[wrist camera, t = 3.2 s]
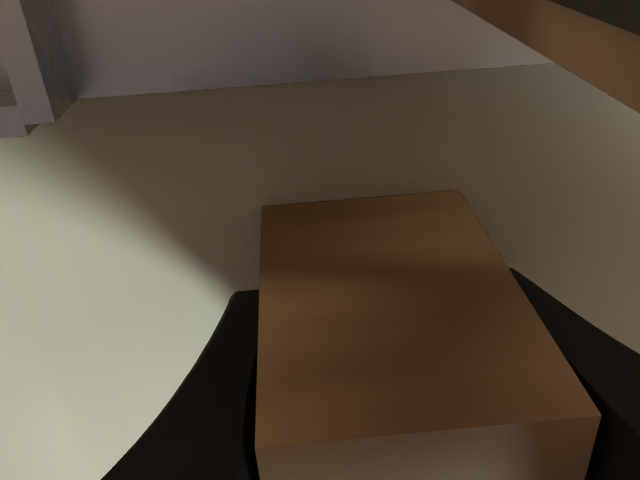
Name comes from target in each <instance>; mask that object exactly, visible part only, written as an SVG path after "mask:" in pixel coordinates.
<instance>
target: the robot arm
mask: <svg viewBox="0 0 640 480" xmlns="http://www.w3.org/2000/svg"><path fill="white" fill-rule="evenodd" d="M509 270H510V271H511V273H512V275H513V276H514V278H515V279H516V281H517V282H518V284H519V286H520V287H521V289H522V290H523V292H524V294H525V295H526V297H527V298H528V300H529V301H530V303H531V305H532V306H533V308H534V309H535V311H536V313H537V314H538V316H539V317H540V319H541V320H542V322H543V324H544V325H545V327H546V328H547V330H548V331H549V333H550V335H551V336H552V338H553V339H554V341H555V343H556V344H557V346H558V347H559V349H560V350H561V352H562V354H563V355H564V357H565V358H566V360H567V362H568V363H569V365H570V366H571V368H572V369H573V371H574V373H575V374H576V376H577V377H578V379H579V381H580V382H581V384H582V385H583V387H584V388H585V390H586V392H587V393H588V395H589V396H590V398H591V399H592V401H593V403H594V404H595V406H596V407H597V409H598V411H599V412H600V414H601V419H600V423H599V427H598V431H597V434H596V438H595V442H594V446H593V450H592V453H591V457H590V461H589V465H588V469H587V473H586V476H585V480H640V354H638V353H636V352H635V351H633V350H631V349H630V348H628V347H627V346H625V345H623V344H622V343H620V342H618V341H617V340H615V339H614V338H612V337H610V336H609V335H607V334H606V333H604V332H603V331H601V330H600V329H598V328H597V327H595V326H594V325H592V324H591V323H589V322H588V321H586V320H585V319H583V318H582V317H580V316H579V315H578V314H576V313H575V312H573V311H572V310H570V309H569V308H568V307H566V306H565V305H563V304H562V303H561V302H559V301H558V300H556V299H555V298H554V297H552V296H551V295H549V294H548V293H547V292H545V291H544V290H542V289H541V288H540V287H538V286H537V285H536V284H534V283H533V282H531V281H530V280H529V279H527V278H526V277H524V276H523V275H521V274H520V273H519V272H517V271H516V270H514V269H512V268H509ZM258 321H259V290H249V291H238V292H235V293H234V294H233V295H232V296H231V298H230V300H229V303H228V305H227V307H226V309H225V311H224V313H223V316H222V318H221V319H220V321H219V323H218V325H217V327H216V329H215V331H214V333H213V334H212V336H211V338H210V340H209V341H208V343H207V345H206V346H205V348H204V350H203V351H202V353H201V355H200V356H199V358H198V360H197V361H196V363H195V365H194V366H193V368H192V369H191V371H190V372H189V374H188V375H187V376H186V378H185V379H184V381H183V382H182V384H181V385H180V387H179V388H178V389H177V391H176V392H175V394H174V395H173V397H172V398H171V399H170V401H169V402H168V403H167V405H166V406H165V407H164V409H163V410H162V411H161V413H160V414H159V415H158V416H157V418H156V419H155V420H154V421H153V423H152V424H151V425H150V426H149V427H148V429H147V430H146V431H145V432H144V433H143V435H142V436H141V437H140V438H139V439H138V440H137V442H136V443H135V444H134V445H133V446H132V447H131V448H130V449H129V450H128V451H127V453H126V454H125V455H124V456H123V457H122V458H121V459H120V460H119V461H118V462H117V463H116V464H115V465H114V467H113V468H112V469H111V470H110V471H109V472H108V473H107V474H106V475H105V476H104V477H103V478H102V479H101V480H260V477H259V471H258V465H257V459H256V453H255V423H256V389H257V355H258Z"/></svg>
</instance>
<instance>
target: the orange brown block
mask: <svg viewBox="0 0 640 480" xmlns="http://www.w3.org/2000/svg"><path fill="white" fill-rule="evenodd" d="M451 1H453V2H454V3H456V4H458V5H459V6H461V7H463V8H465V9H466V10H468V11H470V12H471V13H473V14H475V15H476V16H478V17H480V18H481V19H483V20H485V21H486V22H488V23H490V24H491V25H493V26H495V27H496V28H498V29H500V30H501V31H503V32H505V33H506V34H508V35H510V36H511V37H513V38H515V39H516V40H518V41H520V42H521V43H523V44H525V45H526V46H528V47H530V48H531V49H533V50H535V51H536V52H538V53H540V54H542V55H543V56H545V57H547V58H548V59H550V60H552V61H553V62H555V63H557V64H558V65H560V66H562V67H563V68H565V69H567V70H568V71H570V72H572V73H573V74H575V75H577V76H578V77H580V78H582V79H583V80H585V81H587V82H588V83H590V84H592V85H593V86H595V87H597V88H598V89H600V90H602V91H603V92H605V93H607V94H608V95H610V96H612V97H614V98H615V99H617V100H619V101H620V102H622V103H624V104H625V105H627V106H629V107H630V108H632V109H634V110H635V111H637V112H639V113H640V0H451Z"/></svg>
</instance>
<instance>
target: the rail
mask: <svg viewBox="0 0 640 480" xmlns="http://www.w3.org/2000/svg"><path fill="white" fill-rule="evenodd" d="M548 63H555V62H553V61H552V60H550V59H548V58H547V57H545V56H543V55H542V54H540V53H538V52H536V51H535V50H533V49H531V48H530V47H528V46H526V45H525V44H523V43H521V42H520V41H518V40H516V39H515V38H513V37H511V36H510V35H508V34H506V33H505V32H503V31H501V30H500V29H498V28H496V27H495V26H493V25H491V24H490V23H488V22H486V21H485V20H483V19H481V18H480V17H478V16H476V15H475V14H473V13H471V12H470V11H468V10H466V9H465V8H463V7H461V6H459V5H458V4H456V3H454V2H453V1H451V0H0V138H5V137H18V136H28V135H29V134H30V133H31V132H32V131H33V130H34V129H35V128H36V127H37V126H38V125H39V124H40V123H53V122H56V121H57V120H58V119H59V118H60V117H61V116H62V115H63V114H64V113H65V111H66V110H67V109H68V108H69V107H70V106H71V105H72V104H73V103H74V102H75V101H76V100H77V99H86V98H100V97H113V96H126V95H139V94H152V93H165V92H179V91H192V90H205V89H218V88H231V87H245V86H258V85H271V84H284V83H297V82H311V81H324V80H337V79H350V78H363V77H376V76H390V75H403V74H416V73H429V72H442V71H456V70H469V69H482V68H495V67H508V66H521V65H535V64H548Z"/></svg>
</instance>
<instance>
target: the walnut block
mask: <svg viewBox="0 0 640 480" xmlns="http://www.w3.org/2000/svg"><path fill="white" fill-rule="evenodd" d="M600 419H601V414H600V412H599V411H598V409H597V407H596V406H595V404H594V403H593V401H592V399H591V398H590V396H589V395H588V393H587V392H586V390H585V388H584V387H583V385H582V384H581V382H580V381H579V379H578V377H577V376H576V374H575V373H574V371H573V369H572V368H571V366H570V365H569V363H568V362H567V360H566V358H565V357H564V355H563V354H562V352H561V350H560V349H559V347H558V346H557V344H556V343H555V341H554V339H553V338H552V336H551V335H550V333H549V331H548V330H547V328H546V327H545V325H544V324H543V322H542V320H541V319H540V317H539V316H538V314H537V313H536V311H535V309H534V308H533V306H532V305H531V303H530V301H529V300H528V298H527V297H526V295H525V294H524V292H523V290H522V289H521V287H520V286H519V284H518V282H517V281H516V279H515V278H514V276H513V275H512V273H511V271H510V270H509V268H508V267H507V265H506V264H505V262H504V260H503V259H502V257H501V256H500V254H499V252H498V251H497V249H496V248H495V246H494V245H493V243H492V241H491V240H490V238H489V237H488V235H487V233H486V232H485V230H484V229H483V227H482V226H481V224H480V222H479V221H478V219H477V218H476V216H475V214H474V213H473V211H472V210H471V208H470V207H469V205H468V203H467V202H466V200H465V199H464V197H463V196H462V194H461V192H460V191H459V190H458V191H446V192H434V193H422V194H409V195H397V196H385V197H373V198H361V199H349V200H337V201H325V202H312V203H300V204H288V205H276V206H264V207H262V219H261V253H260V287H259V321H258V355H257V389H256V423H255V453H256V459H257V465H258V471H259V477H260V480H585V476H586V473H587V469H588V465H589V461H590V457H591V453H592V450H593V446H594V442H595V438H596V434H597V431H598V427H599V423H600Z"/></svg>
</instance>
